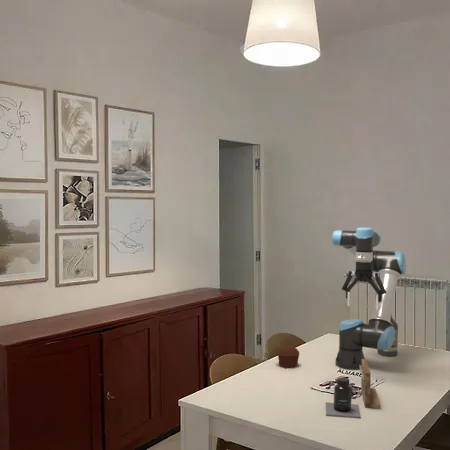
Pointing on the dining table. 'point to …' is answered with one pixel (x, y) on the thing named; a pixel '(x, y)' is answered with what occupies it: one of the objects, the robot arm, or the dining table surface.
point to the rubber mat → (351, 414)
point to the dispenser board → (368, 387)
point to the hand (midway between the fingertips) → (363, 307)
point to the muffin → (288, 356)
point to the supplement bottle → (342, 395)
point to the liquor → (394, 347)
